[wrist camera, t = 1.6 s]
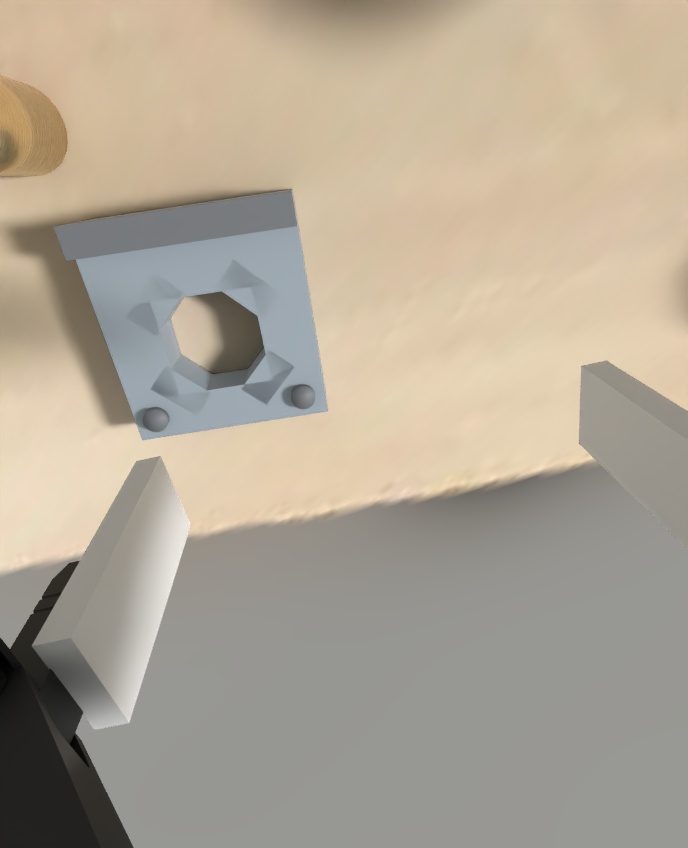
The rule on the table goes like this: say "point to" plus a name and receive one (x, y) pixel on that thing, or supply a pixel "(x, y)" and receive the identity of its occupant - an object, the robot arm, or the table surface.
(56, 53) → the table surface
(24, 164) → the brass cylinder
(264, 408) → the jig
